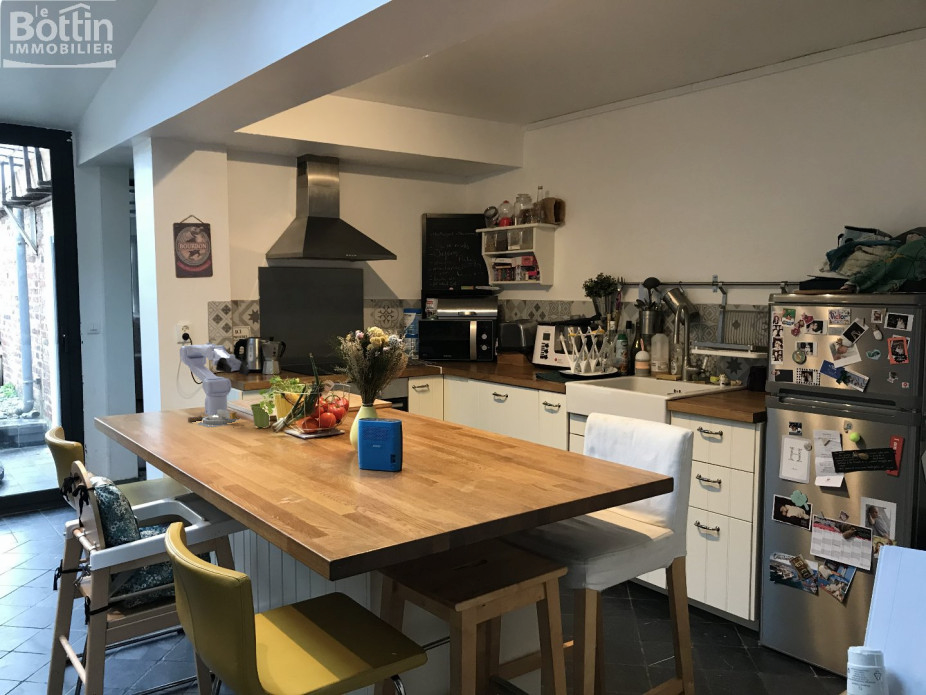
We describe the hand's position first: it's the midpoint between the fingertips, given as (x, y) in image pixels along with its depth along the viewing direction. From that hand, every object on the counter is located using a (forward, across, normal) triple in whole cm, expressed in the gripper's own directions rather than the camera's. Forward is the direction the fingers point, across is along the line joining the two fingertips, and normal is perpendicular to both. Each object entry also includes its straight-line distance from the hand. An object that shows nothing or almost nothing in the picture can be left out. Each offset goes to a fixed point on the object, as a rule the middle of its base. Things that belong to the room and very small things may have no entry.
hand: (239, 371), depth 291 cm
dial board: (0, -1, +22) cm, 22 cm away
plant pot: (+19, +7, +15) cm, 25 cm away
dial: (+3, -1, +20) cm, 20 cm away
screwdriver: (-6, -5, +24) cm, 25 cm away
